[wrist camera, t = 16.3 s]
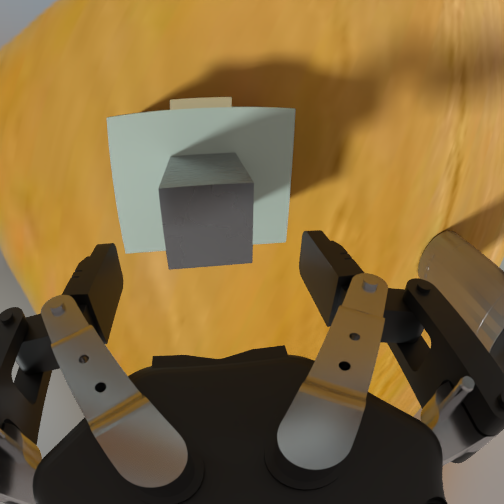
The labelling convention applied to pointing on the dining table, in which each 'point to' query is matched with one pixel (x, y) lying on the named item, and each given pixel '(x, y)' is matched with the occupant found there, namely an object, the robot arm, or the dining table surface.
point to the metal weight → (207, 211)
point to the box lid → (200, 142)
